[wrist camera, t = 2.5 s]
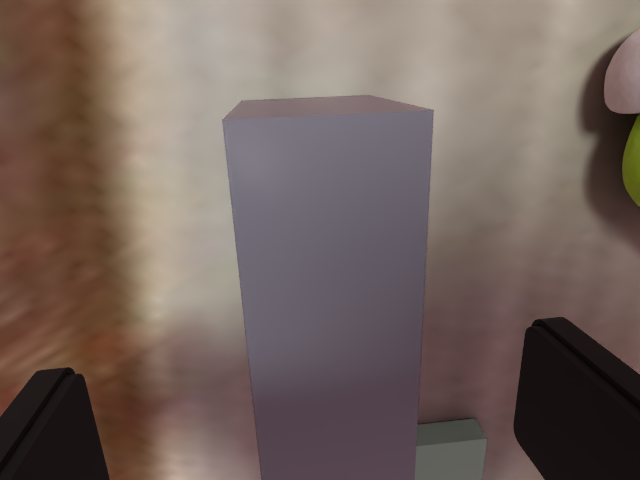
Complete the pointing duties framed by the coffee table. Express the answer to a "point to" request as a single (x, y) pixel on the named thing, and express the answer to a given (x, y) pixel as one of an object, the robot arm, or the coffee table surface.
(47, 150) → the coffee table surface
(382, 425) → the block
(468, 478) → the panel
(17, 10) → the coffee table surface
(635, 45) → the rainbow disc toy
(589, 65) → the coffee table surface
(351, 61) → the coffee table surface
